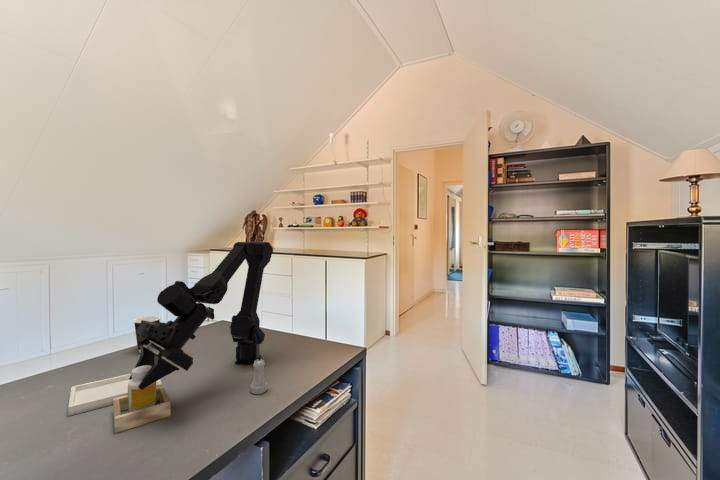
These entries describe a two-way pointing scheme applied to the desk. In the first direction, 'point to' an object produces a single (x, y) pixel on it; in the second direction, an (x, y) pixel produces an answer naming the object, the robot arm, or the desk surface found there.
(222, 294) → the robot arm
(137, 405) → the supplement bottle
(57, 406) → the desk surface
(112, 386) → the tray
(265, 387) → the rook chess piece
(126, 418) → the holder sleeve
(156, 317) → the dixie cup
